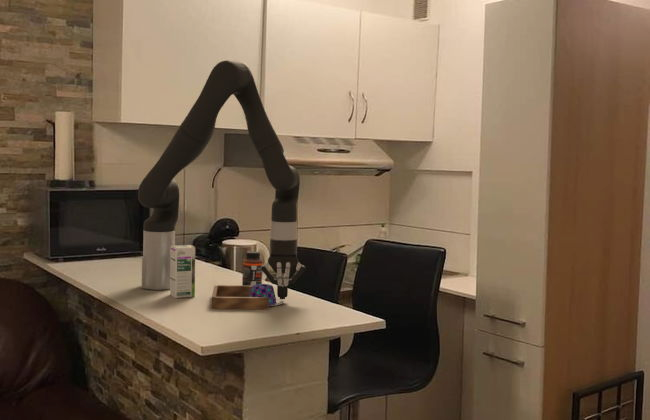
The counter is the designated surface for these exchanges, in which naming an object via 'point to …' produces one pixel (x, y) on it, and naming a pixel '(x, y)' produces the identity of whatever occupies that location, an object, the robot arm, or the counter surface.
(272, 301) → the pudding
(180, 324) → the counter surface
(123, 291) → the counter surface
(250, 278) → the supplement bottle
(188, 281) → the syrup box
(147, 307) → the counter surface
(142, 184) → the robot arm
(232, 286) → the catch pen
